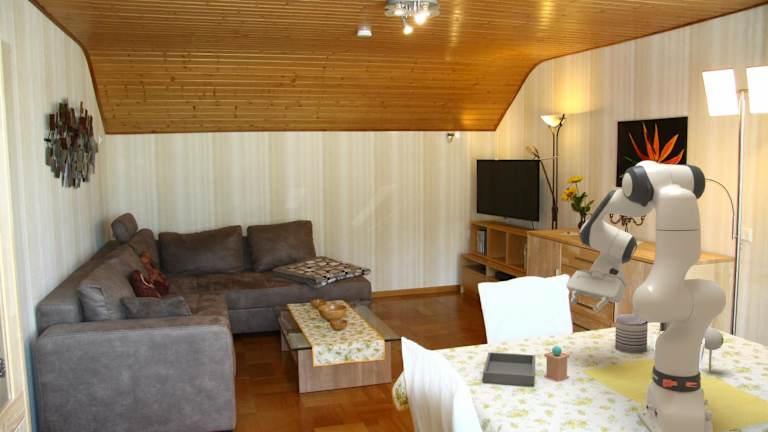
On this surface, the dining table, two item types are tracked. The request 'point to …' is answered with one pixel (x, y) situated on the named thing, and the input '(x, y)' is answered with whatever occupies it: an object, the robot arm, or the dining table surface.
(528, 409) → the dining table surface
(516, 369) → the charcoal tray
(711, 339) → the lollipop
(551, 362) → the terracotta square pedestal
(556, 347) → the teal ball
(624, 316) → the can
